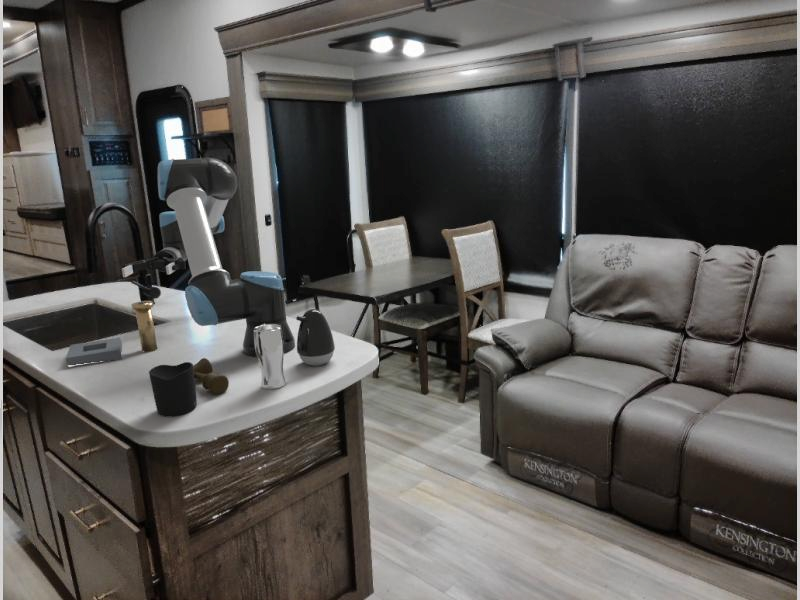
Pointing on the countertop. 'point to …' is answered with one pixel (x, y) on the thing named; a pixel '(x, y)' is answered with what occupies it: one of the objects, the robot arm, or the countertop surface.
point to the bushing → (145, 325)
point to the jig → (94, 351)
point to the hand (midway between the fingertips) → (145, 271)
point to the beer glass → (270, 355)
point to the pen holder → (174, 388)
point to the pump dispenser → (314, 338)
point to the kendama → (210, 377)
